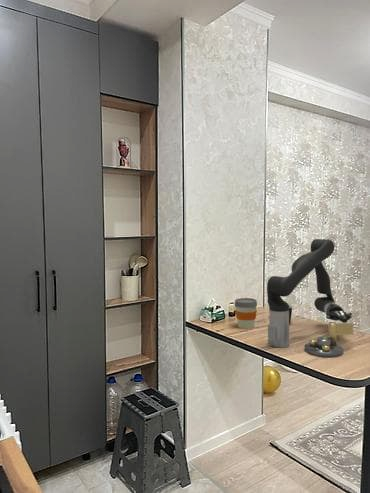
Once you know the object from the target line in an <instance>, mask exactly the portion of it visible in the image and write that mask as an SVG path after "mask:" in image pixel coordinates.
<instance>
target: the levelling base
mask: <svg viewBox="0 0 370 493" xmlns="http://www.w3.org/2000/svg"><path fill="white" fill-rule="evenodd" d="M303 348H304V352H305V353H306V354H308V355H311V356H313V357H318V358H338V357H341V356H343V355H344V351H345V348H344V347H343V346H342V345H340V344H337V346H335V347H332V346H331V339H330V338H328V336H325V335H324V336H319V337H317V338H316V339H314V338H313V339H312V338H311V339H309V340H308V342H307V343H305V344H304V347H303Z"/></svg>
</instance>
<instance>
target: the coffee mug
mask: <svg viewBox="0 0 370 493" xmlns="http://www.w3.org/2000/svg"><path fill="white" fill-rule="evenodd" d="M292 314H293V306H292V305H289V326H290V325H291V322H292Z"/></svg>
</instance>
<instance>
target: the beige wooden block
mask: <svg viewBox="0 0 370 493" xmlns="http://www.w3.org/2000/svg"><path fill="white" fill-rule="evenodd" d="M327 327H328V329H327V330H328V331H327V332H328V336H327V338H330V339H331V346H332V347H335V346H337V345H338V342H337V336H338V335H339V336H340V335H341V336H342V335H343V336H344V335H346V336H347V335H348V336H350V335H354V323H352V322H346V323H343V322H340V323H337V322H336V321H335V322H334V321H329V322H328V325H327Z"/></svg>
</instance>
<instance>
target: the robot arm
mask: <svg viewBox="0 0 370 493" xmlns="http://www.w3.org/2000/svg"><path fill="white" fill-rule="evenodd" d="M334 251H335V243H334V242H333V240H331V239H328V238H326V239H325V238H323V239H322V238H315V239H313V240H312V241H311V244H310V252H307V253H305V254H302V255H300V256H299V257H297V258H296V259H295V260H294V262H293V263H292V265H291V273H290V274H289V275H287V276H275V275H272V276H270V277H269V278H268V280H267V284H266V293H267V304H268V308H269V315H268V316H269V324H268V325H267V344H268V345H270V346H271V347H273V348H286V347H289V346H290V325H289V306H290V304H289V303H288V302H287V301H286V300H284V299H283V298H282V297H288V296H290V295H291V294H292V293H293V292H294V290H295V289H296V287H298V285H299V284H300V283H301V282H302V281H303V280H304V279H305V278H306V277H307V276H308V275H309V274H311V273H312V271H313V270H315V271H314V272H315V276H316V277H315V278H316V291H317V293H319V295H321V294H322V295H326V296H323V297H322V296H321V297H317V298H316V299H314V302H313V303H314V308H315V309H316V310H318V311H319V312H322V313H325V318H326V319H328V320H331V321H335V322H337V321H340V323H348V321H350V320H351V319H353V312H346V311H344V309H343V308H342V307H341V306H340V305H339V304H337V303H336V302H335V299H334V297H333V294H332V288H331V279H330V278H331V277H330V275H329V273H328V272H327V269H326V268H325V266H324V264H323V261H325V260H326V259H328V258H329V257H330V256H332V255H333V253H334ZM285 301H286V302H287V303H286V302H285Z"/></svg>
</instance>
